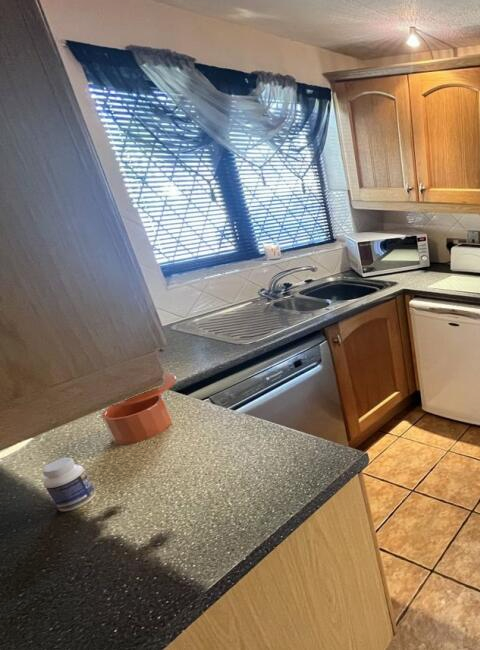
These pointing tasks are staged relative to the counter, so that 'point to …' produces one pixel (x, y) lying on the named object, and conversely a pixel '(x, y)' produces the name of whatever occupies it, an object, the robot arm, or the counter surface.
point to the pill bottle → (67, 484)
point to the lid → (168, 383)
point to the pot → (137, 420)
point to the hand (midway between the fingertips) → (137, 384)
